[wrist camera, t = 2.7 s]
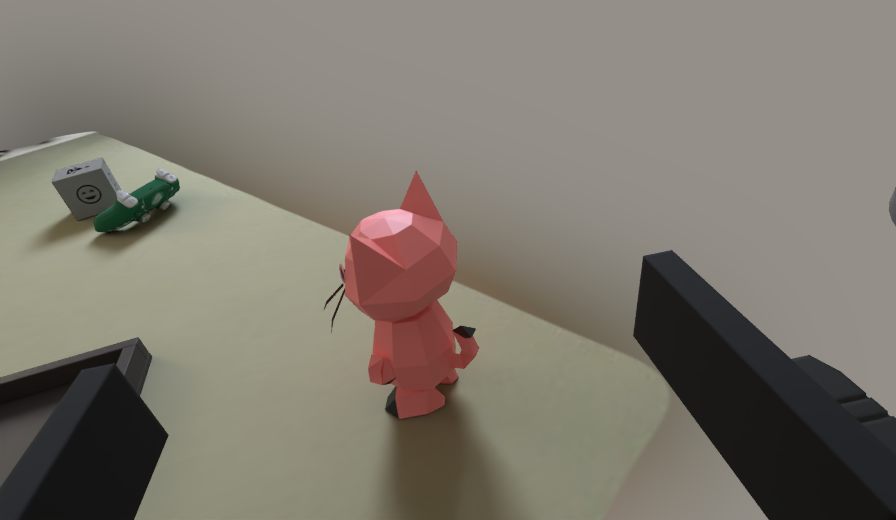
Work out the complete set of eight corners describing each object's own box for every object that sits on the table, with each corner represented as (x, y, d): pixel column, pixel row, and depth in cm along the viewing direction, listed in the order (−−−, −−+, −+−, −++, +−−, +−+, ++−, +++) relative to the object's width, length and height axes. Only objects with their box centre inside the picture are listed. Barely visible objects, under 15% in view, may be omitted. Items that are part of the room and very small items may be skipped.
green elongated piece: (120, 249, 51) (129, 217, 47) (88, 228, 50) (95, 193, 46) (179, 209, 58) (192, 178, 54) (153, 190, 57) (163, 157, 54)
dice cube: (79, 206, 58) (56, 170, 56) (123, 193, 60) (102, 157, 58) (77, 220, 55) (51, 182, 52) (123, 206, 57) (101, 168, 54)
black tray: (102, 513, 23) (80, 492, 22) (-179, 613, 21) (-220, 595, 19) (152, 356, 32) (138, 336, 31) (-38, 413, 30) (-59, 394, 29)
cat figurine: (405, 333, 30) (361, 163, 24) (505, 353, 28) (487, 167, 21) (347, 420, 25) (270, 234, 19) (463, 455, 23) (422, 251, 16)
